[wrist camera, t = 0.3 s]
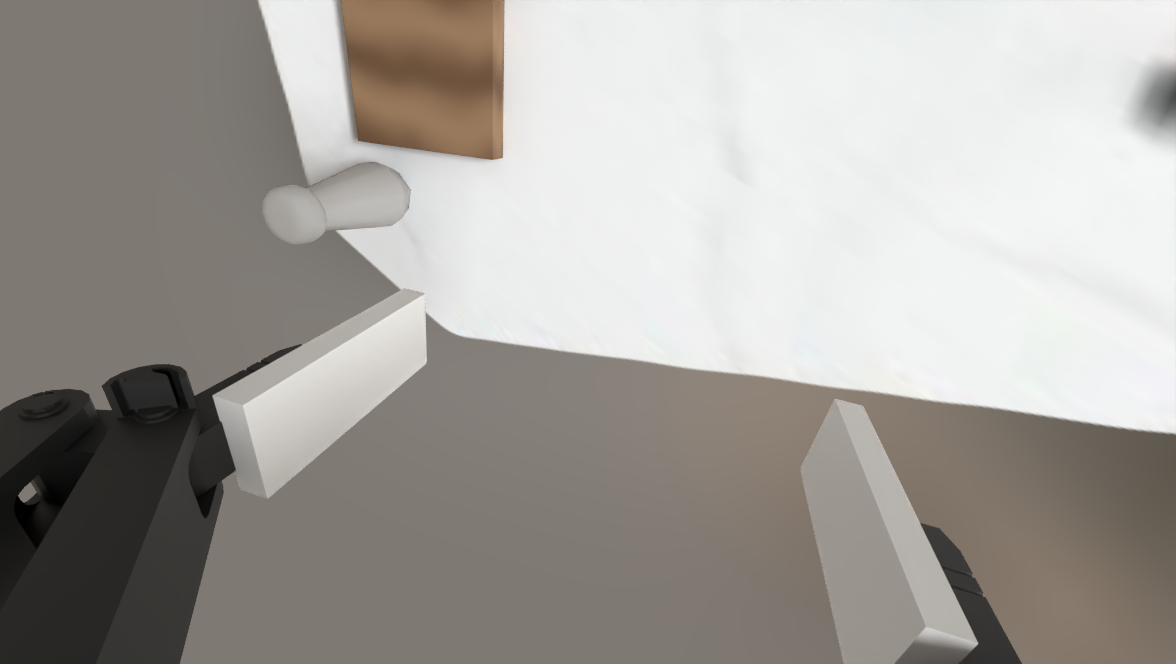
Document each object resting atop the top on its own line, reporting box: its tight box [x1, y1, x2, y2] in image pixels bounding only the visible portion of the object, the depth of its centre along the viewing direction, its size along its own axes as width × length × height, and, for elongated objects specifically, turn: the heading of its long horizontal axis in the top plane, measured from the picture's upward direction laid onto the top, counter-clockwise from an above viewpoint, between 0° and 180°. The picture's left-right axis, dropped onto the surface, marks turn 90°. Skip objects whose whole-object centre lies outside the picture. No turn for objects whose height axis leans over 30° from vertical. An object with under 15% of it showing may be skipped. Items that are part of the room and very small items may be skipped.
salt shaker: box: [262, 162, 411, 244], centre depth 38 cm, size 6×6×13 cm
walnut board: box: [341, 0, 504, 160], centre depth 37 cm, size 13×13×2 cm
